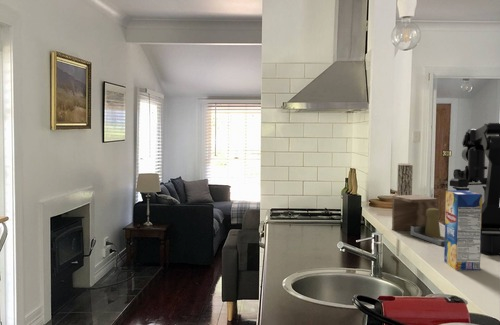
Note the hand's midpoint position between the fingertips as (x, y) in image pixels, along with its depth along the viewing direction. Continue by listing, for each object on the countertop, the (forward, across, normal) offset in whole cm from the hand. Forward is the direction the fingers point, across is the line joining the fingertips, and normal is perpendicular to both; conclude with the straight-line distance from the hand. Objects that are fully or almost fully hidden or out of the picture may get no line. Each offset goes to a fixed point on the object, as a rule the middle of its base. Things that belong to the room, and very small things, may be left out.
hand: (475, 206), depth 197 cm
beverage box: (+13, +28, +30) cm, 44 cm away
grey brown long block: (+13, +12, -3) cm, 18 cm away
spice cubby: (+13, +11, -22) cm, 28 cm away
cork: (+13, +10, -11) cm, 20 cm away
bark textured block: (+13, -8, -60) cm, 62 cm away
